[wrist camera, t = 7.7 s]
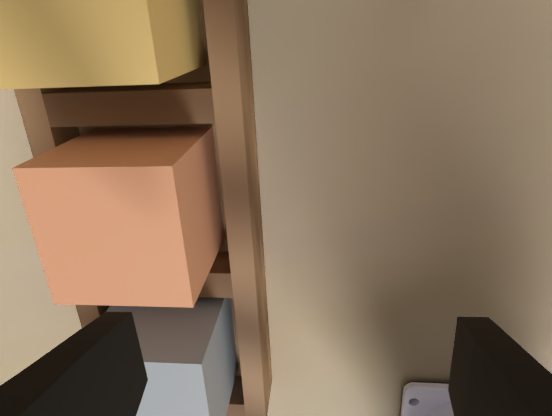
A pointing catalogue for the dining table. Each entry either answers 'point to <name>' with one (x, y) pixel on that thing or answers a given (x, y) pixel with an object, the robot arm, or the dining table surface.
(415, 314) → the dining table surface
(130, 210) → the terracotta cube
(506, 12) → the dining table surface
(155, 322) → the slate cube
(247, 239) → the frame
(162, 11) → the ochre cube
